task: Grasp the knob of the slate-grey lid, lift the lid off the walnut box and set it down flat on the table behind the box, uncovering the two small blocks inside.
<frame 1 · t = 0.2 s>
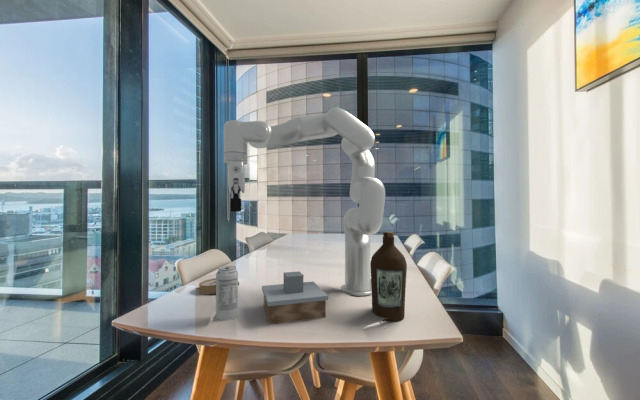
hand: (235, 210, 97), 31 cm above the table, tool pointing down, fingers open, 9 cm apart
terracotta block: (284, 314, 85), point 1 cm above the table, touching box
olive oil: (387, 316, 88), on the table
energy drink can: (227, 320, 84), on the table
lid: (293, 297, 88), point 5 cm above the table, touching box
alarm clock: (219, 291, 111), on the table
box: (293, 314, 88), on the table
maple block: (301, 307, 91), point 1 cm above the table, touching box
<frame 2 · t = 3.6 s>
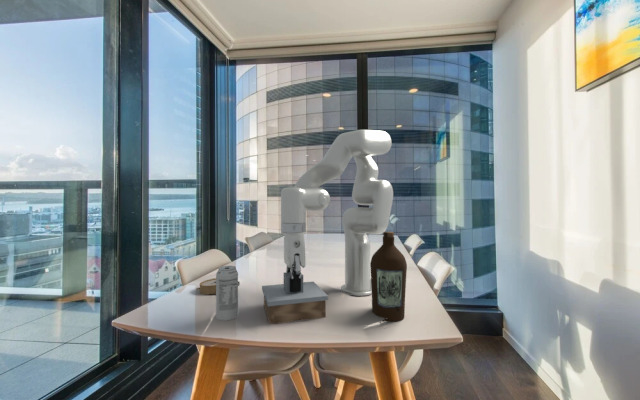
hand: (293, 288, 88), 8 cm above the table, tool pointing down, fingers closed on lid, 5 cm apart
terracotta block: (284, 314, 85), point 1 cm above the table, touching box, lid
lid: (293, 297, 88), point 5 cm above the table, touching box, gripper, terracotta block
everything else where it was.
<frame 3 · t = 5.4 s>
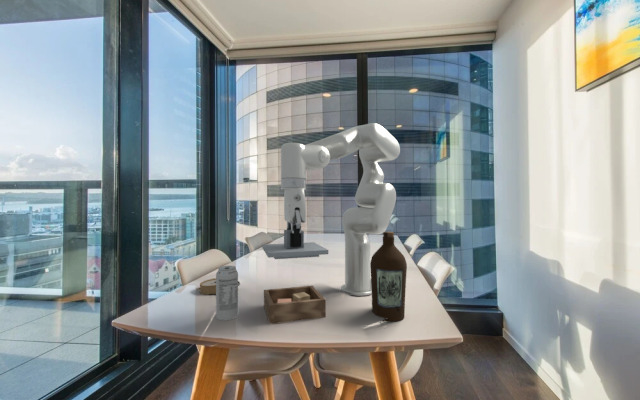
hand: (293, 244, 88), 21 cm above the table, tool pointing down, fingers closed on lid, 5 cm apart
terracotta block: (284, 314, 85), point 1 cm above the table, touching box
lid: (293, 254, 88), point 18 cm above the table, touching gripper
everything else where it was.
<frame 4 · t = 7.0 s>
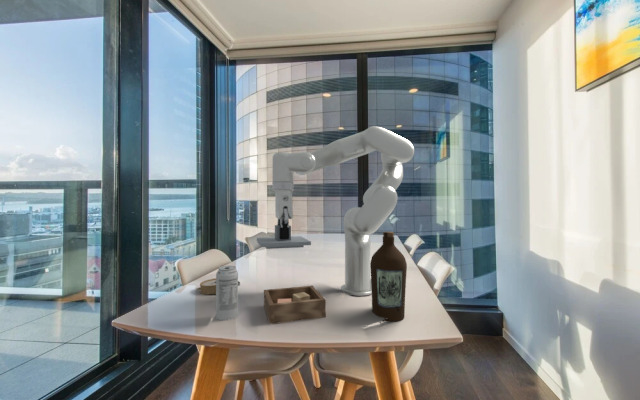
hand: (282, 237, 105), 21 cm above the table, tool pointing down, fingers closed on lid, 5 cm apart
lid: (282, 245, 105), point 18 cm above the table, touching gripper
everything else where it was.
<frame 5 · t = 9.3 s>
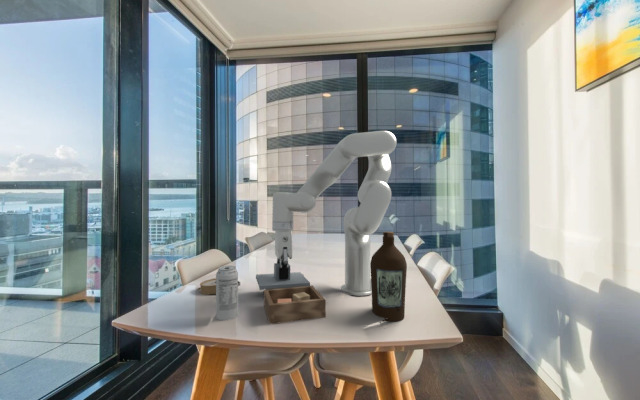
hand: (282, 276, 105), 7 cm above the table, tool pointing down, fingers closed on lid, 5 cm apart
lid: (281, 284, 105), point 4 cm above the table, touching gripper
everything else where it was.
when the fingers open (4 cm above the table, at t = 10.8 s): lid drops 2 cm, on the table.
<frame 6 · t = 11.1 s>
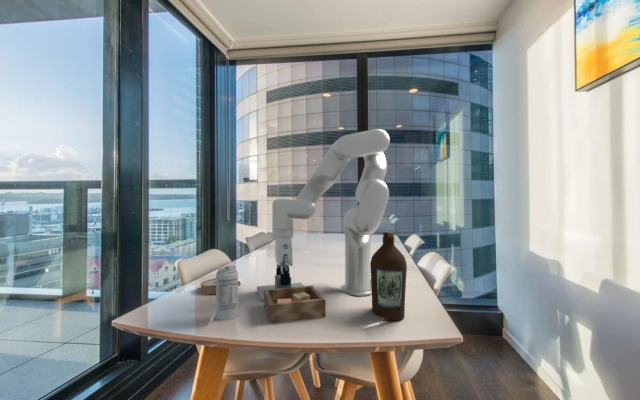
hand: (282, 281, 105), 5 cm above the table, tool pointing down, fingers open, 8 cm apart
lid: (282, 296, 105), on the table
everything else where it was.
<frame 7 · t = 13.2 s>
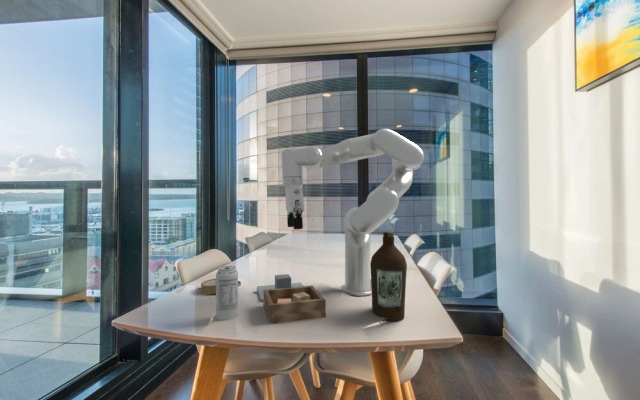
hand: (294, 227, 109), 24 cm above the table, tool pointing down, fingers open, 9 cm apart
nothing on the table moved.
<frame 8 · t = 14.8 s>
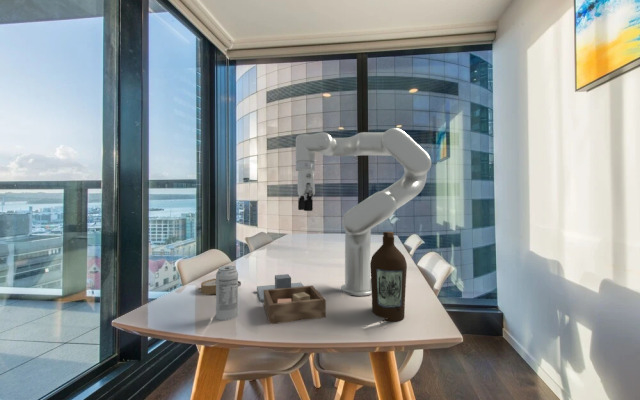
hand: (305, 210, 115), 30 cm above the table, tool pointing down, fingers open, 9 cm apart
nothing on the table moved.
at the end: lid inside the target area (0.0 cm from its centre), on the table; lid touching table; lid tilted 0° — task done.
